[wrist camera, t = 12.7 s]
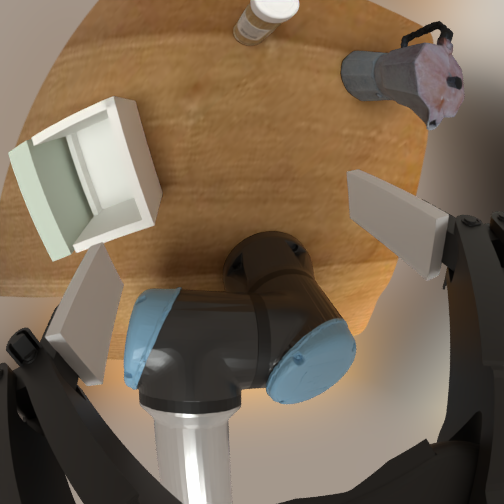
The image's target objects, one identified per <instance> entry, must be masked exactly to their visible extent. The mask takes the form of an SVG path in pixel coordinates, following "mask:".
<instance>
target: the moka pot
mask: <svg viewBox="0 0 504 504" xmlns="http://www.w3.org/2000/svg"><path fill="white" fill-rule="evenodd" d="M436 29H439V30H440V31H441V34H440V37H439V38H438V40H437V45H435V44H431V43H421V44H416V45H412V46H408V42H409V41H411V40H413V39H414V38H415V37H420V36H422V35H423V34H428V33H429V32H432V31H434V30H436ZM452 37H453V32H452V31H451V30H450V29H449V28H447V27H446V25H443V24H442V23H441V22H440V21H438V22H433V23H431V24H428V25H426V26H424V27H423V28H420V29H419V30H417V31H415V32H412V33H411V34H408V35H405V36H403V38H402V42H401V48H400V49H396V50H392V51H390V53H380V52H369V51H353V52H352V53H350V54H349V55H348V56H347V57H346V58H345V59H344V60H343V63H342V68H341V76H342V81H343V83H344V86H345V88H346V89H347V91H348V92H349V93H350V94H351V95H353V96H354V97H355V98H357V99H359V100H361V101H379V100H394V101H396V102H397V103H398V104H401V105H404V106H407V107H409V108H410V109H412V110H413V111H414V112H415V113H416V114H417V115H418V116H419V117H420V118H421V119H422V121H423V122H424V123H425V124H426V126H427V129H428V130H434V129H436V127H437V126H438V125H439V124H440V122H441V121H442V119H443V117H454V116H455V115H456V113H457V111H458V109H459V107H460V105H461V104H462V102H463V100H464V85H463V75H462V70H461V68H460V66H459V65H458V63H457V61H456V60H455V59H454V57H453V56H452V52H453V44H452V43H451V40H452ZM407 46H408V47H407Z"/></svg>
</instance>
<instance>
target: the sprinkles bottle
mask: <svg viewBox="0 0 504 504" xmlns="http://www.w3.org/2000/svg"><path fill="white" fill-rule="evenodd" d="M298 9H299V0H251V2H250V4H249V5H248V6H247V8H246V9H245V11H244V12H243V14H242V15H241V17H240V19H239V21H238V22H237V23H236V25H235V26H234V30H233V34H234V37H235V38H236V39H237V41H239V42H240V43H242V44H244V45H249V46H252V45H257V44H259V43H260V42H262V41H263V39H264V38H265V37H267V36H268V35H269V34H271V33H272V32H273V31H274V30H275V29H276V28H277V27H278V26H279V25H280V24H281V23H282V22H285V21H287V20H289V19H290V18H291V17H292V16H294V15H295V14H296V12H297V11H298Z"/></svg>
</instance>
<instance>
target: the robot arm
mask: <svg viewBox="0 0 504 504" xmlns="http://www.w3.org/2000/svg"><path fill="white" fill-rule="evenodd" d="M347 182H348V195H349V210H350V218H351V219H352V220H353V221H355V222H356V223H357V224H358V225H360V226H361V227H362V228H364V229H365V230H366V231H367V232H369V233H370V234H371V235H373V236H374V237H375V238H376V239H378V240H379V241H380V242H381V243H383V244H384V245H385V246H386V247H388V248H389V249H390V250H391V251H392V252H394V253H395V254H396V255H397V256H398V257H400V258H401V259H402V260H403V261H404V262H406V263H407V264H408V265H409V266H410V267H412V268H413V269H414V270H415V271H416V272H417V273H418V274H420V275H421V276H422V277H423V278H424V279H425V280H426V281H428V280H430V279H432V278H434V277H436V276H438V275H439V274H440V268H441V264H442V263H444V264H445V265H446V266H447V271H446V276H445V280H444V284H443V289H445V286H446V285H447V290H448V301H449V316H450V377H449V392H448V404H447V413H446V418H445V421H444V424H443V426H442V428H441V430H440V433H439V436H438V440H437V443H433V444H429V442H428V441H427V439H425V440H423V441H422V442H420V443H419V444H417V445H416V446H414V447H412V448H410V449H409V450H407V451H405V452H404V453H402V454H400V455H398V456H397V457H395V458H393V459H391V460H389V461H388V462H387V463H385V464H384V465H383V466H382V467H381V468H380V469H378V470H377V471H376V472H375V473H373V474H372V475H371V476H369V477H368V478H367V479H365V480H364V481H363V482H361V483H360V484H359V485H357V486H356V487H355V488H353V489H352V490H350V491H348V492H344V493H339V494H333V495H326V496H318V497H310V498H299V499H293V500H290V501H286V502H283V503H279V504H504V212H493V213H492V214H491V220H490V223H488V224H483V223H482V222H481V220H479V219H478V218H476V217H473V216H470V215H460V216H457V217H456V218H455V217H453V216H452V215H450V214H448V213H447V212H445V211H443V210H441V209H439V208H437V207H436V206H434V205H431V204H430V203H429V202H427V201H425V200H423V199H420V198H418V197H416V196H414V195H412V194H410V193H408V192H406V191H404V190H402V189H400V188H398V187H396V186H394V185H392V184H390V183H388V182H386V181H383V180H381V179H379V178H377V177H375V176H373V175H370V174H368V173H366V172H364V171H361V170H359V169H357V170H353V171H348V172H347ZM223 283H224V287H225V291H226V292H219V291H199V290H183V289H182V288H181V287H178V288H176V289H148V290H146V291H144V292H143V293H141V294H140V296H139V297H138V298H137V300H136V302H135V305H134V307H133V310H132V314H131V318H130V321H129V326H128V331H127V337H126V344H125V352H124V381H125V383H126V385H127V386H128V387H131V388H132V389H137V388H138V389H139V400H140V406H141V407H142V408H143V409H144V410H146V411H147V412H148V413H149V414H150V415H151V416H152V417H153V419H154V428H155V441H156V451H157V459H158V467H159V475H160V483H161V484H160V483H159V482H158V481H157V480H156V479H155V478H154V477H153V476H152V475H151V474H150V473H149V472H148V471H147V470H146V469H145V468H144V467H143V466H142V465H141V464H140V463H139V461H138V460H137V459H136V458H135V457H134V456H133V455H132V454H131V453H130V452H129V450H128V449H127V448H126V447H125V446H124V445H123V444H122V442H121V441H120V440H119V439H118V438H117V436H116V435H115V434H114V433H113V432H112V430H111V429H110V428H109V426H108V425H107V424H106V423H105V421H104V420H103V419H102V417H101V416H100V415H99V413H98V412H97V411H96V409H95V408H94V406H93V405H92V404H91V402H90V401H89V399H88V398H87V396H86V395H85V394H84V392H83V390H82V389H81V388H80V387H79V386H78V385H77V382H78V378H80V379H81V380H82V381H83V382H84V383H85V384H86V385H87V386H91V385H98V384H103V378H104V372H105V366H106V361H107V356H108V350H109V345H110V340H111V336H112V331H113V326H114V322H115V318H116V314H117V309H118V305H119V301H120V297H121V294H122V290H123V286H124V284H123V283H122V281H121V279H120V277H119V275H118V273H117V271H116V269H115V267H114V265H113V263H112V261H111V259H110V257H109V255H108V253H107V250H106V248H105V246H104V244H103V242H101V243H98V244H95V245H92V246H90V248H89V250H88V251H87V253H86V255H85V256H84V258H83V260H82V262H81V263H80V265H79V267H78V269H77V271H76V273H75V274H74V276H73V278H72V280H71V282H70V284H69V286H68V288H67V290H66V292H65V294H64V296H63V298H62V300H61V302H60V304H59V305H58V306H57V307H56V308H55V310H54V312H53V314H52V316H51V319H50V321H49V323H48V326H47V328H46V330H45V332H44V334H43V337H42V339H41V341H40V342H39V341H38V340H37V339H36V337H35V336H34V335H33V333H32V332H31V331H30V329H29V328H22V329H20V330H19V331H17V332H16V333H15V334H14V335H13V336H12V337H11V338H10V340H9V341H8V344H7V346H6V351H7V352H8V353H9V354H10V356H11V357H12V358H13V359H14V360H15V361H16V363H17V364H18V365H19V366H20V367H19V368H17V369H15V370H13V371H12V370H11V369H10V368H9V366H8V365H7V364H6V363H1V364H0V504H76V503H75V501H74V498H73V495H72V493H71V490H70V488H69V485H68V482H67V479H66V476H67V478H68V480H69V481H70V483H71V485H72V486H73V488H74V490H75V491H76V492H77V494H78V496H79V497H80V499H81V500H82V502H83V503H84V504H232V489H231V471H230V453H229V452H230V450H229V426H228V420H229V418H230V417H231V416H232V415H233V414H234V413H235V412H237V410H239V409H240V407H241V390H242V389H252V388H266V392H267V394H268V395H269V396H270V397H271V398H272V399H273V400H274V401H276V402H279V403H281V404H294V403H299V402H303V401H306V400H309V399H311V398H313V397H315V396H317V395H319V394H321V393H323V392H324V391H326V390H327V389H329V388H330V387H331V386H333V385H334V384H335V383H336V382H338V381H339V380H340V379H341V378H342V377H343V376H344V374H345V373H346V372H347V371H348V369H349V368H350V366H351V365H352V363H353V361H354V358H355V354H356V343H355V340H354V338H353V336H352V334H351V332H350V331H349V329H348V325H347V323H346V321H345V320H344V319H343V318H342V317H341V315H340V314H339V313H338V311H337V310H336V308H335V307H334V306H333V304H332V303H331V302H330V300H329V299H328V298H327V296H326V295H325V293H324V292H323V291H322V289H321V288H320V287H319V285H318V284H317V283H316V281H315V278H314V272H313V266H312V261H311V258H310V256H309V254H308V252H307V250H306V249H305V248H304V247H303V245H302V244H301V243H300V242H299V241H298V240H297V239H296V238H294V237H292V236H291V235H288V234H286V233H282V232H263V233H259V234H255V235H253V236H251V237H249V238H247V239H245V240H243V241H242V242H241V243H239V244H238V245H237V246H236V247H235V248H234V249H233V250H232V252H231V253H230V254H229V256H228V258H227V259H226V262H225V264H224V268H223ZM18 413H19V414H20V415H21V416H23V420H22V419H21V418H20V416H19V415H18ZM65 475H66V476H65Z"/></svg>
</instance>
